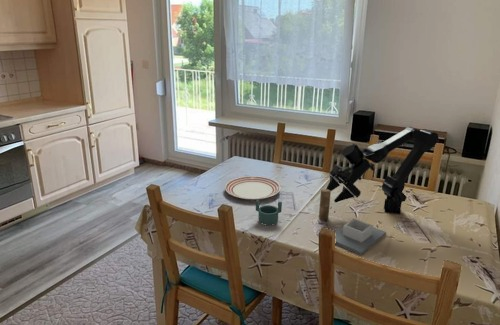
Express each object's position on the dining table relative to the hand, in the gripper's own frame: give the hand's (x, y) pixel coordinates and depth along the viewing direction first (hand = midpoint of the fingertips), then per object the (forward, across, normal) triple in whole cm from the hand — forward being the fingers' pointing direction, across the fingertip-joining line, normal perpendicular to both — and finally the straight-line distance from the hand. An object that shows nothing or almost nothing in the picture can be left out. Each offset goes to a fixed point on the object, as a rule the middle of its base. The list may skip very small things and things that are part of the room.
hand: (329, 197), depth 151 cm
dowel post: (+8, 0, +5) cm, 10 cm away
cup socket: (+4, +18, +9) cm, 20 cm away
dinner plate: (+25, -33, -10) cm, 43 cm away
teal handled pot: (+25, -3, -11) cm, 27 cm away
